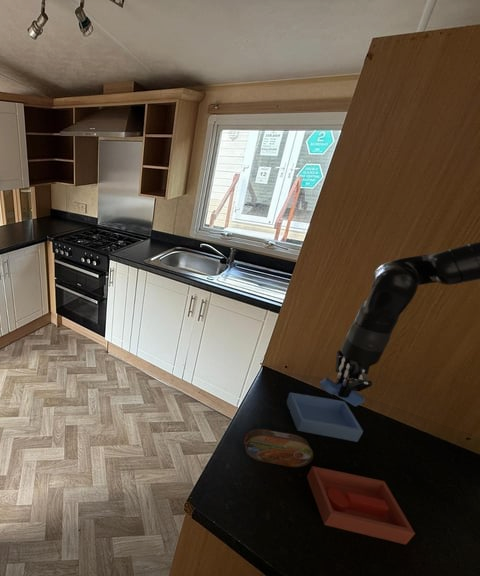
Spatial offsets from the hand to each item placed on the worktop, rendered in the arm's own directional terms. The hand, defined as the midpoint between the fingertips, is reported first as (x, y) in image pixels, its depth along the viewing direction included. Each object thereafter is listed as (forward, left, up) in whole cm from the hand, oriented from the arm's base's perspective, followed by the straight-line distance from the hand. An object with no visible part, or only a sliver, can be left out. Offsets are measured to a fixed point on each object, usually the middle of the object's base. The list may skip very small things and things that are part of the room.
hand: (340, 393), depth 84 cm
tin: (+18, +16, -11) cm, 27 cm away
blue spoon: (+1, 0, -1) cm, 1 cm away
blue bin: (+2, 0, -11) cm, 11 cm away
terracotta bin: (+4, +24, -11) cm, 27 cm away
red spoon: (+4, +25, -11) cm, 27 cm away
